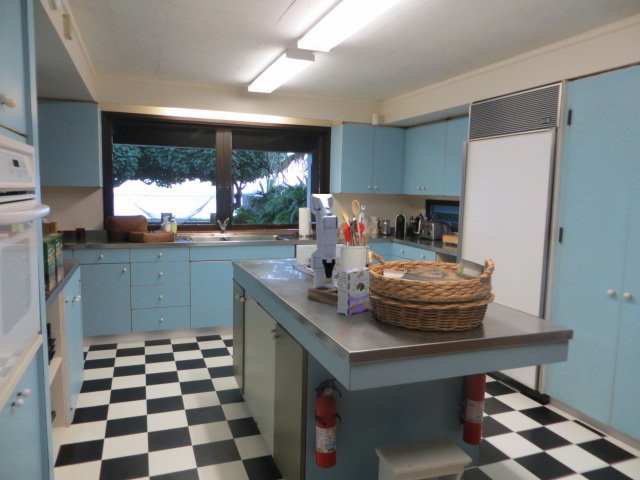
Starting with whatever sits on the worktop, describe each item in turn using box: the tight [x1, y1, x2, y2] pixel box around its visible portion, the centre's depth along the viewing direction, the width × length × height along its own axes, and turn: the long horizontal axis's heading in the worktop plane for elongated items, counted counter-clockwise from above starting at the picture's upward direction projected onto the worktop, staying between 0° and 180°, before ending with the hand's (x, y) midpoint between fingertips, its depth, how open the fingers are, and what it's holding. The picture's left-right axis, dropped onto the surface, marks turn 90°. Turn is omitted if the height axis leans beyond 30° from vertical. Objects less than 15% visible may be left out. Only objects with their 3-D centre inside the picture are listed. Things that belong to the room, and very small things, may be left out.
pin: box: [324, 269, 332, 284], centre depth 191 cm, size 3×3×8 cm
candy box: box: [336, 266, 371, 317], centre depth 176 cm, size 14×6×16 cm, turn 134°
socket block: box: [307, 286, 338, 306], centre depth 194 cm, size 9×16×4 cm, turn 46°
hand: (328, 277), depth 191 cm, fingers closed on pin, 3 cm apart
